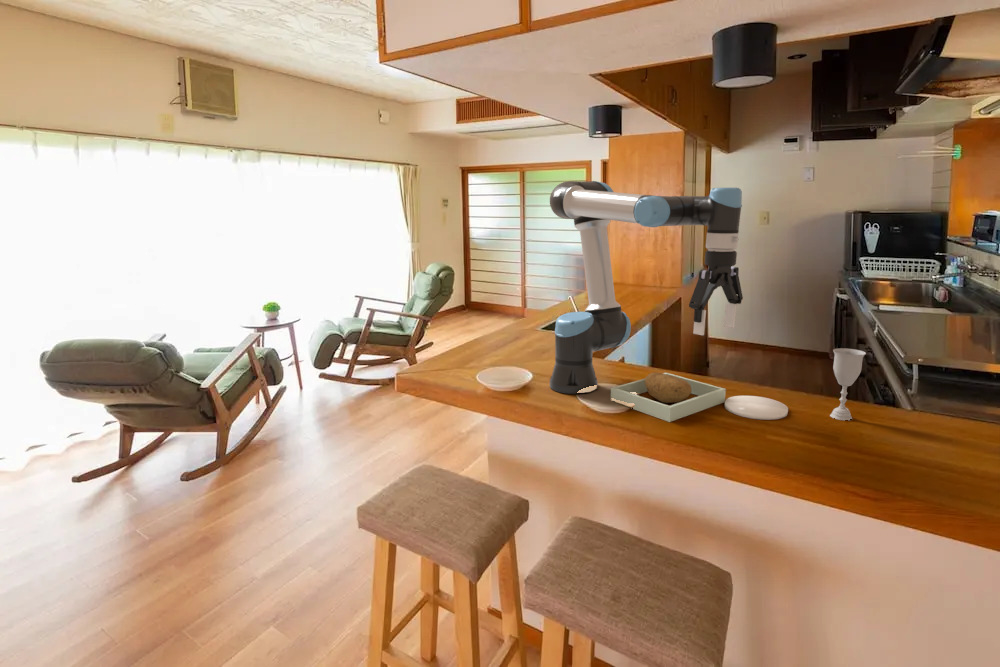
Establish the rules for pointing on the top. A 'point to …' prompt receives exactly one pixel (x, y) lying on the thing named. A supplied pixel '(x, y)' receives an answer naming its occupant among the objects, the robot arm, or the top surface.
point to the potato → (667, 387)
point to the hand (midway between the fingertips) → (714, 330)
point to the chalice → (846, 376)
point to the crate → (704, 400)
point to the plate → (756, 407)
